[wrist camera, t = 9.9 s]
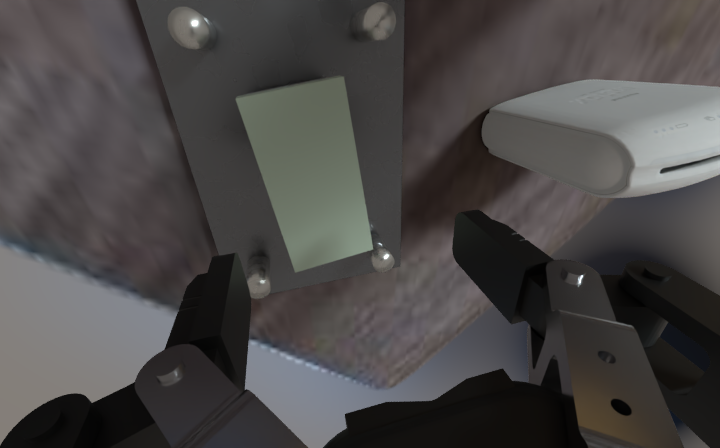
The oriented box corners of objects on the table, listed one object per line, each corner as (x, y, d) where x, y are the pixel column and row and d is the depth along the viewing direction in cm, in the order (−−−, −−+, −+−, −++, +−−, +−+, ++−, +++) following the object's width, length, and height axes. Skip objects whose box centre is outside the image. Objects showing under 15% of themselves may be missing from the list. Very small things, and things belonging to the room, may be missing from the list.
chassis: (398, -35, 18) (430, -56, 15) (396, 260, 28) (414, 287, 25) (130, -36, 15) (92, -62, 12) (235, 293, 25) (230, 329, 22)
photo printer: (594, 71, 25) (836, 82, 14) (584, 125, 27) (788, 169, 17) (479, 103, 23) (654, 140, 13) (478, 157, 26) (628, 226, 15)
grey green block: (328, 72, 18) (343, 76, 15) (357, 220, 23) (373, 249, 20) (240, 90, 17) (235, 98, 14) (290, 239, 22) (295, 272, 19)
